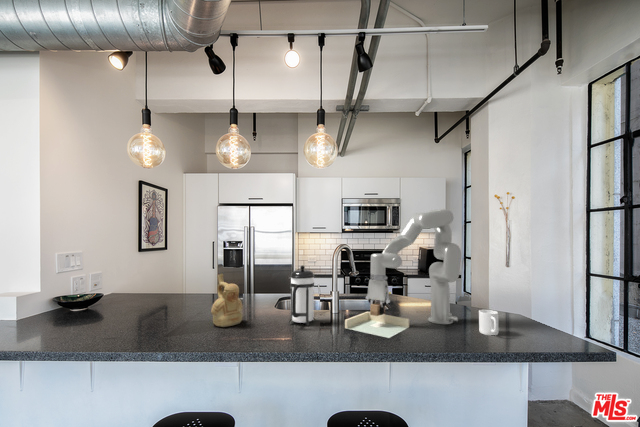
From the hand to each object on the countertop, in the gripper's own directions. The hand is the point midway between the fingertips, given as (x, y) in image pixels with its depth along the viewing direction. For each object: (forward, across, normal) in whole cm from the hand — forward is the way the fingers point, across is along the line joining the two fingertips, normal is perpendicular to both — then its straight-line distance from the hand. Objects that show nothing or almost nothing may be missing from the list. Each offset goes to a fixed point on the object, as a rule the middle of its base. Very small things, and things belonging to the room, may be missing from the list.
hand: (377, 313), depth 174 cm
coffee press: (+7, +33, +21) cm, 40 cm away
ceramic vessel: (+7, +63, +46) cm, 78 cm away
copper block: (0, 0, 0) cm, 0 cm away
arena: (+6, -2, +4) cm, 8 cm away
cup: (+6, -48, -22) cm, 53 cm away
